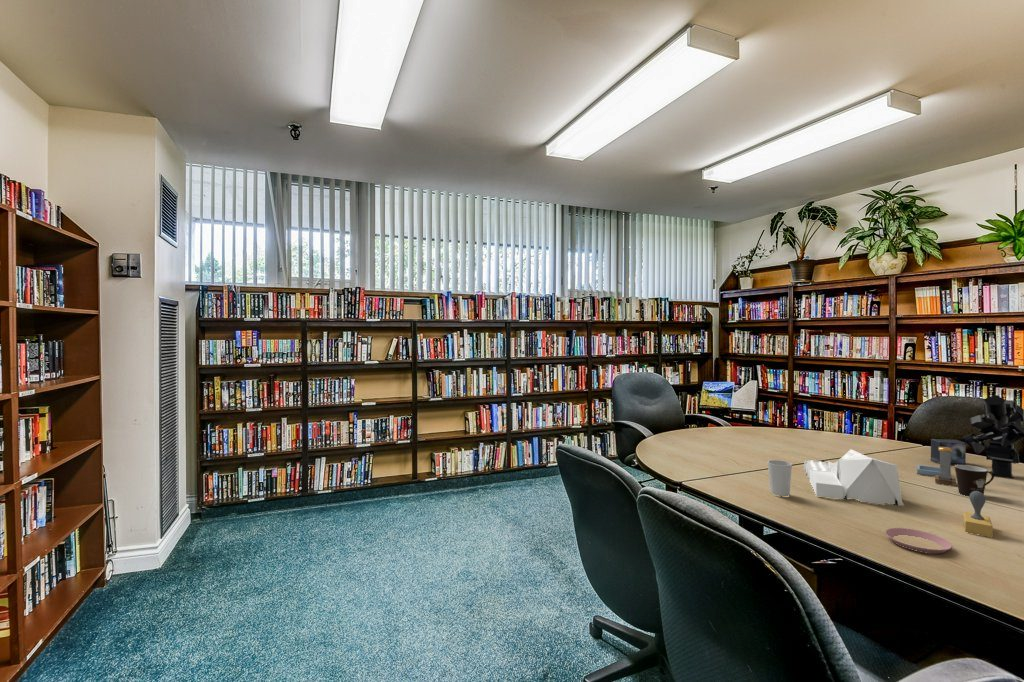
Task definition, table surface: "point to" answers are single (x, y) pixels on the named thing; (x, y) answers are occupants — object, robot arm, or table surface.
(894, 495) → the white faceted model
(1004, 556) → the table surface
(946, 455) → the pin
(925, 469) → the tray
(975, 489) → the coffee mug
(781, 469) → the cup
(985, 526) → the rubber stamp
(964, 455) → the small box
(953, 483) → the block
